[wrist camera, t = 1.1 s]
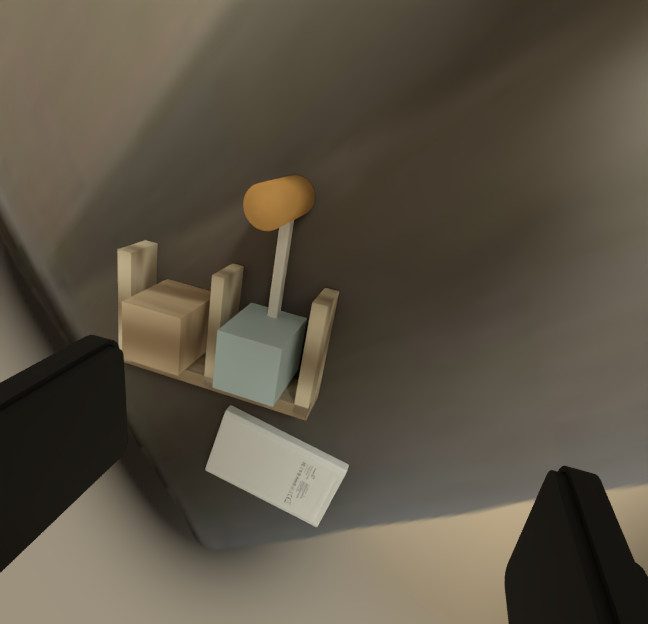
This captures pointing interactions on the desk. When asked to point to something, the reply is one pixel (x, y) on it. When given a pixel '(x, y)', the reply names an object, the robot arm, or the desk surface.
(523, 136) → the desk surface
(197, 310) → the plain block
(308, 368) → the shelf lanes
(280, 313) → the block
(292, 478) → the external hard drive
